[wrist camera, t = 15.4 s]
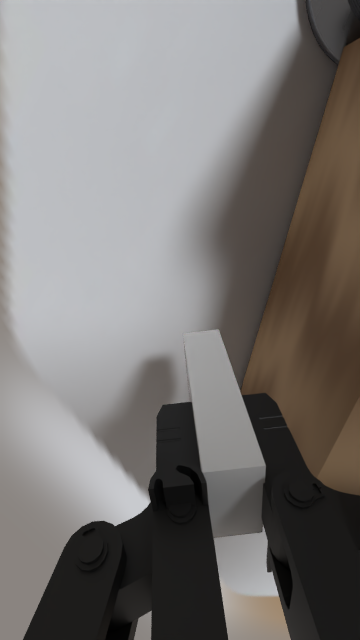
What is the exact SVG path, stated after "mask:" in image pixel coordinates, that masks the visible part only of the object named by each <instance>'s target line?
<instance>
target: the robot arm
mask: <svg viewBox="0 0 360 640" xmlns="http://www.w3.org/2000/svg"><path fill="white" fill-rule="evenodd" d="M183 338H184V348H185V358H186V368H187V378H188V388H189V395H190V402H186V403H177V404H168V405H163V406H162V408H161V409H160V411H159V413H158V415H157V443H156V472H155V473H154V475H153V476H152V478H151V480H150V484H149V488H148V491H149V496H150V500H151V502H150V504H149V505H148V507H147V508H146V509H145V510H144V511H142V513H140V514H138V515H137V516H135V517H134V518H132V519H130V520H128V521H125V522H123V523H121V524H119V525H117V526H114V525H113V524H111V523H108V522H105V521H95V522H91V523H89V524H87V525H85V526H82V527H81V528H80V529H79V530H78V531H77V532H75V533H74V534H73V535H72V536H71V538H70V539H69V541H68V542H67V544H66V546H65V547H64V550H63V552H62V554H61V556H60V558H59V561H58V563H57V565H56V567H55V569H54V572H53V574H52V576H51V579H50V581H49V583H48V585H47V587H46V589H45V592H44V594H43V596H42V598H41V601H40V603H39V605H38V608H37V610H36V612H35V614H34V616H33V618H32V621H31V623H30V625H29V627H28V630H27V632H26V634H25V636H24V639H23V640H134V636H135V631H136V627H137V622H138V618H139V617H141V616H143V615H144V614H146V613H148V612H150V611H151V610H152V628H151V629H152V630H151V640H228V635H227V628H226V622H225V615H224V608H223V601H222V594H221V587H220V580H219V573H218V566H217V560H216V553H215V546H214V539H213V538H216V537H225V536H233V535H242V534H250V533H259V532H262V528H263V525H264V529H265V532H266V536H267V539H268V548H267V572H273V575H274V579H275V583H276V586H277V590H278V594H279V597H280V601H281V605H282V608H283V612H284V616H285V620H286V623H287V626H288V631H289V634H290V638H291V640H360V496H359V495H354V494H349V493H343V492H340V491H337V490H334V489H331V488H329V487H327V486H325V485H324V484H323V483H322V482H321V481H320V480H318V479H317V478H316V477H314V476H313V475H312V474H311V472H310V470H309V469H308V467H307V465H306V463H305V461H304V459H303V457H302V455H301V453H300V451H299V449H298V446H297V444H296V442H295V440H294V438H293V436H292V434H291V432H290V430H289V428H288V427H287V423H286V421H285V419H284V417H283V416H282V413H281V411H280V409H279V407H278V405H277V402H275V401H274V400H273V399H272V398H271V397H270V396H269V395H268V394H266V393H258V394H249V395H241V392H240V389H239V387H238V384H237V381H236V378H235V375H234V372H233V369H232V366H231V363H230V361H229V358H228V355H227V352H226V349H225V346H224V343H223V340H222V337H221V335H220V332H219V329H216V330H207V331H198V332H189V333H183Z"/></svg>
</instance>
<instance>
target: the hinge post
mask: <svg viewBox="0 0 360 640" xmlns="http://www.w3.org/2000/svg"><path fill="white" fill-rule="evenodd" d="M306 8H307V13H308V18H309V22H310V25H311V28H312V31H313V33H314V35H315V38H316V40H317V42H318V44H319V45H320V47H321V48H322V50H323V51H324V52H325V53H326V55H327V56H328V57H329V58H330V59H331V60H332V61H334V62H335V63H336V64H337V65H339V61H340V58H341V55H342V51H343V48H344V47H345V46H347V45H349V44H350V43H352V42H354V41H355V40H357V39H359V38H360V0H306Z"/></svg>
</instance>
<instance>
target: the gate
mask: <svg viewBox="0 0 360 640" xmlns="http://www.w3.org/2000/svg"><path fill="white" fill-rule="evenodd" d="M240 392H241V395H249V394H258V393H266V394H268V395H269V396H270V397H271V398H272V399H273V400H274V401H275V402H277V405H278V407H279V409H280V411H281V413H282V416H283V417H284V419H285V421H286V423H287V427H288V428H289V430H290V432H291V434H292V436H293V438H294V440H295V442H296V444H297V446H298V449H299V451H300V453H301V455H302V457H303V459H304V461H305V463H306V465H307V467H308V469H309V470H310V472H311V474H312V475H313V476H314V477H316V478H317V479H318V480H320V481H321V482H322V483H323V484H324V485H325V486H327V487H329V488H331V489H334V490H337V491H340V492H343V493H349V494H354V495H359V496H360V38H359V39H357V40H355V41H354V42H352V43H350V44H349V45H347V46H345V47H344V48H343V51H342V55H341V58H340V61H339V65H338V68H337V71H336V75H335V78H334V81H333V85H332V88H331V91H330V95H329V98H328V101H327V105H326V108H325V111H324V115H323V118H322V121H321V124H320V128H319V131H318V134H317V138H316V141H315V144H314V148H313V151H312V154H311V158H310V161H309V164H308V168H307V171H306V174H305V178H304V181H303V184H302V188H301V191H300V194H299V198H298V201H297V204H296V208H295V211H294V214H293V218H292V221H291V224H290V228H289V231H288V234H287V238H286V241H285V244H284V248H283V251H282V254H281V258H280V261H279V264H278V268H277V271H276V274H275V278H274V281H273V284H272V287H271V291H270V294H269V297H268V301H267V304H266V307H265V311H264V314H263V317H262V321H261V324H260V327H259V331H258V334H257V337H256V341H255V344H254V347H253V351H252V354H251V357H250V361H249V364H248V367H247V371H246V374H245V377H244V381H243V384H242V387H241V391H240Z"/></svg>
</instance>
